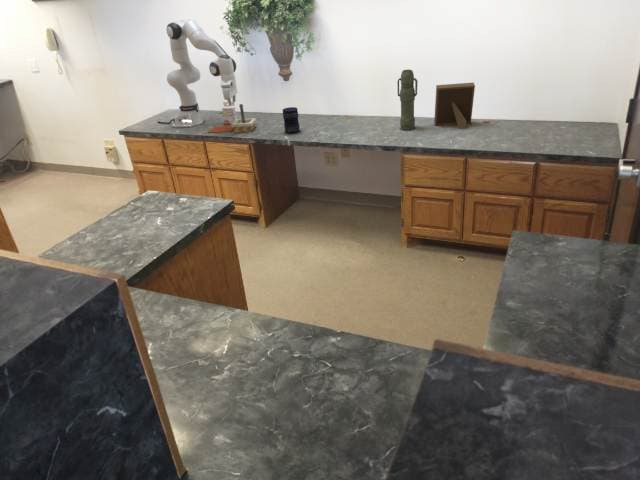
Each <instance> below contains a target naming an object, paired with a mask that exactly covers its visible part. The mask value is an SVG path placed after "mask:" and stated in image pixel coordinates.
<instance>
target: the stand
mask: <svg viewBox="0 0 640 480" xmlns="http://www.w3.org/2000/svg"><path fill="white" fill-rule="evenodd" d="M239 110H240V117H241V119H242V122H239V123H238V124H240V123H250V122H245V119H246V118H245V111H244V105H243V104H242V103H240V104H239ZM233 128H234V129H233V133H234V134H235V133H252V132H253V130H254V129H255V128H256V121H255V122H254V124H253V125H252V126H246V127H233Z"/></svg>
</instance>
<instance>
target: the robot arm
mask: <svg viewBox="0 0 640 480" xmlns="http://www.w3.org/2000/svg"><path fill="white" fill-rule="evenodd" d="M166 34H167V36H168V38H169V46H170V52H171V58H172V61H173V62H174V63H176V64H178V65H179V66H180V68H179V69H175V70H172V71H170V72H169V73H167V75H166V81H167V84H168V85H169V86H170V87H172V88H174V89H175V91H176V92H177V94H178V95H179V96H178V97H179V100H180V103H181V105H180V106H179V107H178V108H179V112H178V113H176V115H175V116H174V118H173V119H170V120H169V121H168V122H165V121H156V122H157V123H159V124H165V125H169V124H171V123H172V121H173V123H172V124H171V127H172V128H192V127H195V126H200V125H202V124H203V123H204V120H203V119H202V116H201V114H200V113H201V112H200V106H199V103H198V101H197V95H196V92H195V91H193V89H192V90H191V89H190V88H189V86H188V85H191V84H194V83H196V82H198V81H200V80H201V72H200V70H199V69H198V68H197V66H195V65H194V64H193V62H192V61H191V59H190V55H189V50H188V49H189V48H188V44H187V39H188V41H189V42H190V44H191V45H192V46H193V47H194V48H195V49H196V50H199V51H208V52H211V53H213V54H214V55H215V56H216V57H217V59H215V60H213V61H211V62H210V64H209V68H208V69H209V72H210V74H211V76H213V77H220V79H221V82H220V88H221V92H222V95H223V99H224V100H225V101H226V102H228V105H229V106H231V105H232V102H234V103H236V102H237V101H236V98H237V94H238V86H237V80H236V75H235V72H236V70H237V63H236V61H235V59H233V58H232V57H231V56H230V55H229V54H228V53H227V52H226V51H225V50H224V48H223V47H222V46H221V45H220V44H219V43H218V42H217V41H216V40H215V39H213V38H212V37H210V36H209V35H208V34H207V33H206V32H205V31H204V30H203V28H202V27H201V26H200V25H199V23H197V21H196V20H194V19H183V20H179V21H175V22H170V23H168V24H167V26H166Z"/></svg>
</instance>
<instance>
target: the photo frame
mask: <svg viewBox="0 0 640 480" xmlns="http://www.w3.org/2000/svg"><path fill="white" fill-rule="evenodd" d="M475 88H476V84H475V82H462V83H461V82H460V83H448V84H447V83H445V84H438V85H436V86H435V103H434V119H433V120H434V121H433V123H434V126H435V127H437V126H438V127H439V126H453V125H454V126H455V125H457V127H458V129H467V125H469V124H472V117H473V108H474V107H473V106H474V99H475V90H476V89H475Z"/></svg>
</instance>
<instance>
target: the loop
mask: <svg viewBox="0 0 640 480" xmlns="http://www.w3.org/2000/svg"><path fill="white" fill-rule="evenodd" d="M239 122H242V118H237V119H236V120H235V121H234V122H233V124H231V126H232V127H246V126H252V125H253V124H254V122H255V123H256V122H257V118H256V117H253V118H252V117H251V118H245V122H250V123H240V124H238V123H239Z"/></svg>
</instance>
